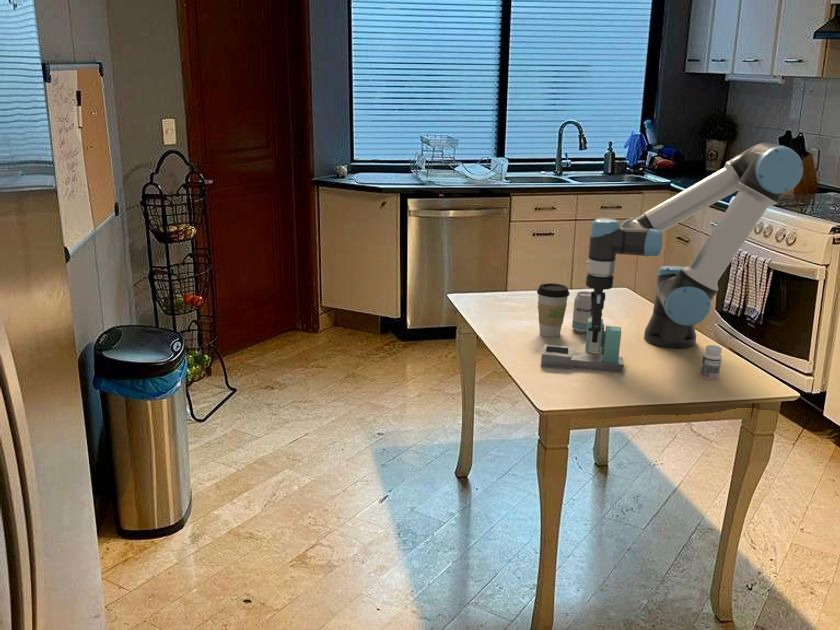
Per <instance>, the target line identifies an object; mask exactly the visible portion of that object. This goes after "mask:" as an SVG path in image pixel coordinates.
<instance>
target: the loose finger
mask: <svg viewBox="0 0 840 630" xmlns="http://www.w3.org/2000/svg"><path fill="white" fill-rule="evenodd" d="M591 326H592V318H588V326H587V333H586V335H585V336H586V338H585V352H587V353H589V352H588V350H589V340H590V331H588V329H589V328H591ZM594 327H598V326H594ZM604 331H605V324H604V319H603V318H601V331H600V339H599V349H598V353H597V354H600V353H601V350H602V342H603V332H604Z"/></svg>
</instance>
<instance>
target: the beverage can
mask: <svg viewBox="0 0 840 630" xmlns="http://www.w3.org/2000/svg"><path fill="white" fill-rule="evenodd" d="M591 309H592V308H591V291H578V292H577V294H576V295H575V297H574V301H573V310H572V323H571V328H572V329H573V330H575V332H577V333H579V334H587V326H588V318H590V317H591Z"/></svg>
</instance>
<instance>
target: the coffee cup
mask: <svg viewBox="0 0 840 630" xmlns="http://www.w3.org/2000/svg"><path fill="white" fill-rule="evenodd" d="M568 288H569V287H567V285H565V284H559V283H553V282H552V283H551V282H549V283H541V284H540V285H539V287H538V288H537V289H536V294H537V297H538V300H537V308H538V311H537V312H538V313H537V314H538V323H539V334H540V335H541V336H542V337H543V336H544V337H547V338H557V337H559V336H560V335H561V330H562V325H563V324H564V319H565V315H566V309H567V304H568V303H567V301H568V297H569V296H570V291H569V289H568Z"/></svg>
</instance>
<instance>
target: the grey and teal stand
mask: <svg viewBox="0 0 840 630" xmlns="http://www.w3.org/2000/svg"><path fill="white" fill-rule="evenodd" d="M621 339H622V327H621V326H613V325H605V329H604V332H603V342H602V347H601V350H600V353H601V354H595V353H594V354H592V353H583V352H582V353H581V352H573V347H572V346H565V345H564V346H563V345H562V346H561V345H554V344H553V345H552V344H543V345H542V352H541V361H540V367H544V368H556V369H567V370H571V369H577V370H578V369H579V370H587V371H588V370H589V371H598V372H606V373H607V372H609V373H618V374H624V366H625V365H624V364H625V362H624V357H621V356H620V347H621Z"/></svg>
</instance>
